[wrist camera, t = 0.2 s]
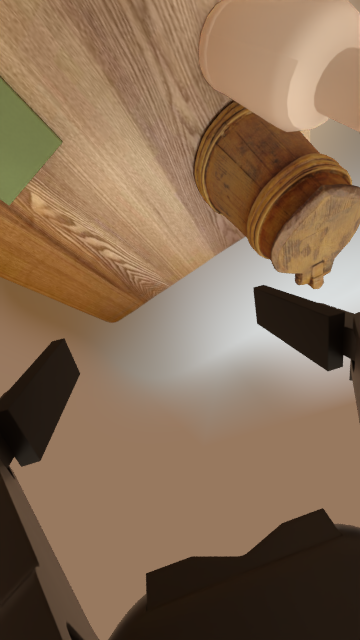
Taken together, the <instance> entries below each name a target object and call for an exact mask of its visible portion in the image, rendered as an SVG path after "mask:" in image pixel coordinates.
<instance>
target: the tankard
mask: <svg viewBox="0 0 360 640" xmlns="http://www.w3.org/2000/svg"><path fill="white" fill-rule="evenodd" d="M194 176H195V182H196V185H197V187H198V190H199V192H200V194H201V195H202V197H203V198H204V200H205V201H206V202H207V203H208V204H209V206H210V207H211V208H212V209H213V210H214V211H215V212H217V213H219V214H221V215H223V216H225V217H226V218H227V219H228V220H229V221H230V222H232V223H233V224H234V225H235V226H236V227H237V228H238V229H239V230H240V231H241V232H242V233H243V234H244V235H245V236H246V237H247V238H248V241H249V243H250V245H251V247H252V248H253V249H254V250H255V251H256V252H257V253H258V254H259V255H260V256H262V257H264V258H266V259H270V260H271V261H272V264H273V266H274V268H275V269H276V270H277V271H278V272H281V273H292V274H295V282H296V283H297V284H298V285H304V284H308V285H310V286H311V287H312V288H313V289H319V288H320V287H321V286H322V285H323V283H324V281H323V276H324V275H326V274H328V273H329V272H330V271H331V268H332V265H333V261H334V258H335V257H336V256H337V255H338V254H339V253H340V251H341V250H342V249H343V248H344V247H345V246H346V245H347V244H348V242H350V240H351V238H352V237H353V235H354V234H355V232H356V230H357V228H358V227H359V224H360V187H357V186H353V185H352V180H351V178H350V175H349V174H348V172H347V170H345V169H344V168H342V167H341V166H340V165H339V163H338V162H337V161H335V160H334V159H333V158H331V157H328V156H327V155H323V154H320V153H319V152H318V151H317V150H316V149H315V148H314V147H313V145H312V144H311V143H310V142H309V141H308V140H307V139H306V138H305V137H304V136H303V134H302V133H301V132H300V131H294V132H285V131H283V130H281V129H279V128H277V127H275V126H274V125H272V124H271V123H269V122H267V121H266V120H264V119H263V118H261V117H260V116H258V115H256V114H255V113H253V112H252V111H250V110H248V109H247V108H245V107H244V106H242V105H241V104H239V103H237V102H236V101H235V102H234V103H232V104H230V105H229V106H228V107H227V108H225V109H224V110H223V111H222V112H221V113H220V114H219V116H218V117H217V118H216V119H215V120H214V121H213V123H212V124H211V126H210V127H209V128H208V130H207V131H206V133H205V135H204V137H203V138H202V141H201V144H200V146H199V149H198V152H197V157H196V161H195V171H194Z"/></svg>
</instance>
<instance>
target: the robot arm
mask: <svg viewBox="0 0 360 640" xmlns="http://www.w3.org/2000/svg"><path fill="white" fill-rule="evenodd" d="M254 298H255V307H256V316H257V324H259V325H260V326H262V327H263V328H265V329H266V330H268V331H269V332H271V333H272V334H274V335H275V336H277V337H278V338H280V339H281V340H283V341H284V342H285V343H287V344H288V345H290V346H291V347H293V348H294V349H296V350H297V351H299V352H300V353H302V354H303V355H305V356H306V357H307V358H309V359H310V360H312V361H313V362H315V363H317V364H318V365H319V366H321V367H323V368H324V369H325V370H327V371H330V370H333V369H337V368H340V367H343V355H345V356H346V357H348V358H350V359H351V364H350V380H352V381H353V386H354V392H355V398H356V404H357V410H358V416H359V422H360V312H358V313H356V314H353V313H350V312H347V311H344V310H341V309H336V308H335V307H332V306H331V307H330V306H328V305H326V304H322V303H316V302H313V301H310V300H307V299H304V298H301V297H298V296H295V295H292V294H289V293H286V292H283V291H280V290H277V289H274V288H271V287H268V286H265V285H262V286H258V287H254ZM79 375H80V373H79V370H78V368H77V365H76V364H75V361H74V359H73V357H72V354H71V352H70V350H69V348H68V346H67V343H66V341H65V339H60V340H56V341H52V342H51V344H50V345H49V346H48V347H47V348H46V349H45V350H44V351H43V352H42V354H41V355H40V356H39V357H38V358H37V359H36V360H35V361H34V363H33V364H32V365H31V366H30V367H29V368H28V369H27V371H26V372H25V373H24V374H23V375H22V376H21V377H20V378H19V380H18V381H17V382H16V383H15V384H14V385H13V386H12V387H11V388H10V390H8V391H7V392H6V393H4V394H3V395H2V396H1V398H0V640H99V639H98V637H97V636H96V634H95V632H94V631H93V629H92V627H91V626H90V624H89V622H88V620H87V618H86V616H85V614H84V612H83V610H82V608H81V606H80V604H79V602H78V600H77V598H76V596H75V594H74V592H73V590H72V588H71V586H70V584H69V582H68V580H67V578H66V576H65V574H64V572H63V570H62V568H61V566H60V564H59V562H58V560H57V558H56V556H55V554H54V552H53V550H52V548H51V546H50V544H49V542H48V540H47V538H46V536H45V534H44V532H43V530H42V528H41V526H40V524H39V522H38V520H37V518H36V516H35V514H34V512H33V510H32V508H31V506H30V504H29V502H28V500H27V498H26V496H25V494H24V492H23V490H22V488H21V486H20V484H19V482H18V480H17V478H16V476H15V474H14V472H13V471H12V469H11V468H10V466H9V465H10V463H11V462H12V460H13V458H14V457H15V458H16V459H17V461H18V462H19V464H20V465H21V466H25V465H28V464H32V463H35V462H38V461H40V460H41V458H42V456H43V454H44V452H45V450H46V447H47V445H48V443H49V441H50V439H51V436H52V434H53V432H54V430H55V427H56V425H57V423H58V421H59V419H60V416H61V414H62V412H63V410H64V408H65V406H66V403H67V401H68V399H69V397H70V395H71V393H72V390H73V388H74V386H75V384H76V382H77V379H78V377H79ZM146 591H147V594H146V595H144V596H143V597H142V598H141V599H140V600H139V601H138V602H137V603H136V604H135V605H134V606H133V607H132V608H131V609H130V610H129V611H128V612H127V614H126V615H125V616H124V618H123V619H122V620H121V622H120V623H119V624H118V626H117V627H116V629H115V630H114V632H113V633H112V635H111V636H110V638H109V639H108V640H360V528H359V527H355V526H351V525H343V524H334V523H333V522H332V521H331V519H330V518H329V516H328V515H327V513H326V512H325V510H324V509H320V510H317V511H314V512H311V513H309V514H306V515H303V516H301V517H298V518H295V519H292V520H290V521H287V522H285V523H282V524H281V525H279V526H278V527H277V528H276V529H275V530H274V531H272V532H271V533H270V534H269V535H268V536H267V537H266V538H264V539H263V540H262V541H261V542H260V543H259V544H257V545H256V546H255V547H254V548H253V549H252V550H250V551H249V552H248V553H247V554H245V555H243V556H238V557H190V558H187V559H184V560H182V561H179V562H176V563H173V564H170V565H168V566H165V567H162V568H160V569H157V570H154V571H152V572H149V573H146Z"/></svg>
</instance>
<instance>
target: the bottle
mask: <svg viewBox="0 0 360 640" xmlns="http://www.w3.org/2000/svg"><path fill="white" fill-rule="evenodd" d="M199 63H200V67H201V70H202V73H203V77H204V78H205V79H206V81H207V82H208V83H209V85H210V86H212V88H213V89H215V90H217V91H219V92H221V93H222V94H225V95H226V96H228V97H229V98H231V99H233V100H234V101H236V102H237V103H239V104H241V105H242V106H244V107H245V108H247V109H248V110H250V111H252V112H253V113H255V114H256V115H258V116H260V117H261V118H263V119H264V120H266V121H267V122H269V123H271V124H272V125H274V126H275V127H277V128H279V129H281V130H283V131H285V132H294V131H304V130H310V129H314V128H315V127H317V126H319V125H321V124H323V123H325V122H326V121H327V120H328V119H329V118H331V119H333V120H335V121H337V122H339V123H341V124H344V125H346V126H348V127H350V128H352V129H354V130H357V131H359V133H360V13H359V12H358V11H357V9H356V8H355V7H354V6H353V5H352V4H351V3H350V2H349V1H348V0H222V1H221V2H219V3H218V4H216V5H215V7H214V8H213V9H212V11H211V12H210V14H209V15H208V16H207V18H206V21H205V24H204V26H203V29H202V32H201V37H200V43H199Z"/></svg>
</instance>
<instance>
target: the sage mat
mask: <svg viewBox="0 0 360 640" xmlns="http://www.w3.org/2000/svg"><path fill="white" fill-rule="evenodd" d="M61 144H62V140H61V139H60V138H59V137H58V136H57V135H56V134H55V133H54V132H53V131H52V130H51V129H50V128H49V127H48V126H47V125H46V124H45V123H44V122H43V120H42V119H41V118H40V117H39V116H38V115H37V114H36V113H35V112H34V111H33V110H32V109H31V108H30V107H29V106H28V105H27V104H26V103H25V102H24V101H23V100H22V99H21V98H20V96H19V95H18V94H17V93H16V92H15V91H14V90H13V89H12V88H11V87H10V86H9V85H8V84H7V83H6V82H5V81H4V80H3V79H2V78H1V77H0V199H1V200H2V201H3V202H5V203H6V204H8V205H10V204H11V203H12V202H13V200H14V199H15V198H16V197H17V196H18V195H19V193H20V192H21V191H22V190H23V189H24V187H25V186H26V185H27V184H28V183H29V181H30V180H31V179H32V178H33V177H34V176H35V174H36V173H37V172H38V171H39V170H40V168H41V167H42V166H43V165H44V164H45V162H46V161H47V160H48V159H49V158H50V157H51V155H52V154H53V153H54V152H55V151H56V149H57V148H58V147H59V146H60V145H61Z"/></svg>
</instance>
